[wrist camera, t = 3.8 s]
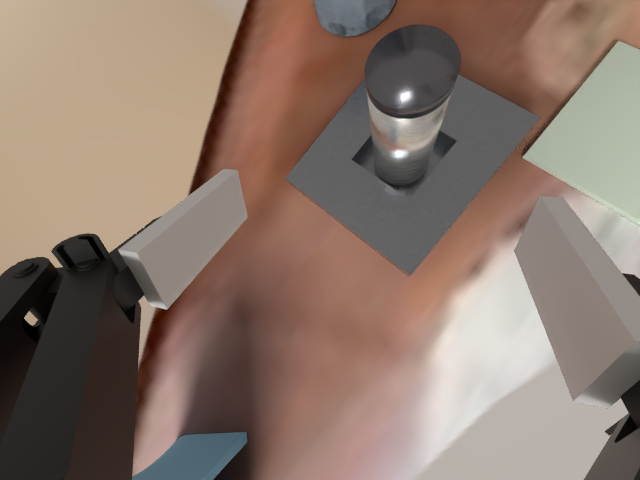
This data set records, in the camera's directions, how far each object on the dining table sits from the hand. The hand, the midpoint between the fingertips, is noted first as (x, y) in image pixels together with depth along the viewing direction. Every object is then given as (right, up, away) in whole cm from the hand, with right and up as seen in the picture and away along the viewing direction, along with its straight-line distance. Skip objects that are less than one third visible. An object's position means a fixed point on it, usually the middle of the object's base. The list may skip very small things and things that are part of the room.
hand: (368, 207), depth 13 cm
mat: (+23, +7, +10) cm, 26 cm away
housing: (+5, +6, +14) cm, 16 cm away
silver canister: (+5, +6, +13) cm, 16 cm away
